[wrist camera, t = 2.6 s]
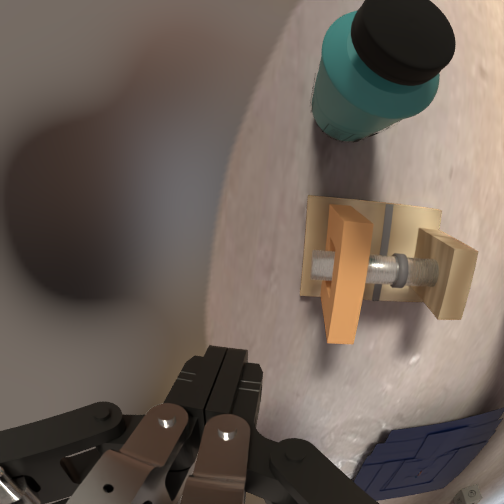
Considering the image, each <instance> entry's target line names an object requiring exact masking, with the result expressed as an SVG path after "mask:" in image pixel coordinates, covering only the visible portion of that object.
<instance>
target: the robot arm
mask: <svg viewBox="0 0 504 504" xmlns="http://www.w3.org/2000/svg"><path fill="white" fill-rule="evenodd" d="M262 379H263V372H262V369H261V367H260V365H259V364H255V363H248V350H243V349H235V348H226V347H218V346H211V345H209V347H208V349H207V351H206V353H205V355H204V357H201V356H194V357H192V358H191V359H190V360H188V361H187V362H186V363H185V365H184V367H183V368H182V370H181V372H180V374H179V376H178V378H177V380H176V381H175V383H174V385H173V386H172V388H171V390H170V392H169V394H168V396H167V397H166V399H165V401H164V403H163V404H159V405H156V406H154V407H152V408H151V409H149V411H148V412H147V413H146V414H145V415H122V412H121V410H120V408H119V407H118V406H117V405H115V404H113V403H110V402H97V403H94V404H91V405H88V406H85V407H82V408H79V409H76V410H73V411H70V412H66V413H63V414H60V415H57V416H54V417H50V418H47V419H44V420H40V421H37V422H33V423H30V424H26V425H22V426H19V427H15V428H11V429H7V430H3V431H0V504H45V503H49V502H52V501H56V500H59V499H63V498H66V497H69V496H71V497H70V498H67V499H64V500H61V501H58V502H55V503H52V504H178V502H179V500H180V498H181V496H182V498H181V501H180V504H245V497H246V492H248V493H251V494H253V495H256V496H258V497H261V498H263V499H264V500H265V502H266V503H267V504H379V503H378V502H376V501H375V500H374V499H373V498H372V497H370V496H369V495H368V494H367V493H366V492H365V491H363V490H362V489H361V488H360V487H359V486H358V485H356V484H355V483H354V482H353V481H352V480H351V479H350V478H348V477H347V476H346V475H345V474H344V473H343V472H342V471H341V470H340V469H338V468H337V467H336V466H335V465H334V464H333V463H332V462H331V461H330V460H329V459H328V458H327V457H326V456H324V455H323V454H322V453H321V452H320V451H319V450H318V449H317V448H316V447H315V446H314V445H313V444H311V443H310V442H308V441H306V440H303V439H297V438H291V439H285V440H282V441H280V442H275V441H272V440H269V439H267V438H265V437H264V436H262V435H261V434H260V433H259V432H258V431H257V430H256V424H257V419H258V413H259V408H260V402H261V392H262ZM91 447H96V448H95V449H92V450H89V451H86V452H84V453H81V454H78V455H75V456H72V457H66V456H69V455H72V454H74V453H78V452H80V451H83V450H86V449H89V448H91ZM197 454H198V455H197ZM196 457H197V459H196ZM195 460H196V462H195ZM192 473H193V474H192Z"/></svg>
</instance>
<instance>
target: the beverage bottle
mask: <svg viewBox="0 0 504 504" xmlns="http://www.w3.org/2000/svg"><path fill="white" fill-rule="evenodd" d="M454 52H455V36H454V33H453V30H452V27H451V25H450V23H449V21H448V20H447V18H446V17H445V15H444V14H443V13H442V12H441V10H440V9H439V8H438V7H437V6H436V5H435V4H433V3H432V2H431V1H430V0H365V1H364V3H363V4H362V6H361V7H360V8H359V9H358V11H354V12H350V13H348V14H345V15H343V16H342V17H340V18H339V19H337V20H336V21H335V22H334V23H333V24H332V25H331V26H330V27H329V29H328V31H327V32H326V35H325V37H324V40H323V44H322V56H321V61H320V67H319V71H318V74H317V78H316V82H315V88H314V94H312V96H313V99H312V103H311V104H312V105H311V106H312V110H311V112H313V116H314V118H315V121H316V122H317V124H318V125H319V127H320V128H321V129H322V130H323V131H324V132H325V133H326V134H327V135H329V136H331V137H333V138H334V139H338V140H342V141H341V142H343V141H353V143H354V142H357V141H359V140H361V139H362V138H364V137H366V136H368V137H371V136H373V135H376V134H377V133H375V132H378V131H380V130H382V129H384V128H386V127H388V126H389V127H388V128H390V125H392V124H394V123H396V122H398V121H400V120H402V119H405V118H409V117H412V116H415V115H417V114H419V113H420V112H422V111H423V110H425V109H426V108H427V107H428V106H429V105H430V103H431V102H432V101H433V99H434V97H435V95H436V93H437V90H438V86H439V76H440V75H439V73H440V71H441V70H442V69H443V68H444V67H445V66H447V65H448V64H449V62H450V61H451V59H452V57H453V55H454ZM315 74H316V73H315ZM314 80H315V79H314ZM313 87H314V86H313ZM313 87H312V88H313ZM312 93H313V92H312ZM311 98H312V97H311ZM310 102H311V101H310ZM397 124H398V123H397ZM388 128H386V129H388ZM323 131H322V132H323ZM380 132H383V131H380ZM374 133H375V134H374ZM326 134H325V135H326ZM371 134H373V135H371ZM369 135H370V136H369ZM329 136H328V137H329ZM363 140H364V139H363ZM345 143H346V142H345Z"/></svg>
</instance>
